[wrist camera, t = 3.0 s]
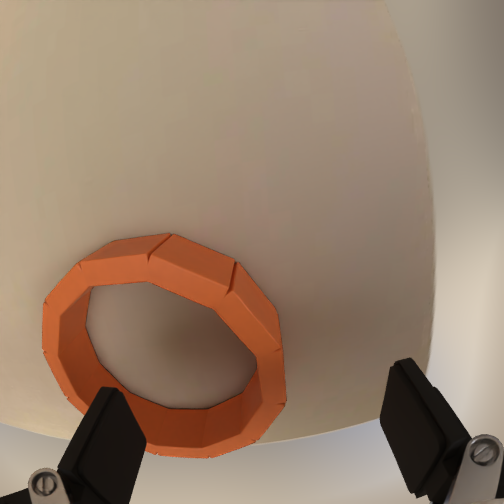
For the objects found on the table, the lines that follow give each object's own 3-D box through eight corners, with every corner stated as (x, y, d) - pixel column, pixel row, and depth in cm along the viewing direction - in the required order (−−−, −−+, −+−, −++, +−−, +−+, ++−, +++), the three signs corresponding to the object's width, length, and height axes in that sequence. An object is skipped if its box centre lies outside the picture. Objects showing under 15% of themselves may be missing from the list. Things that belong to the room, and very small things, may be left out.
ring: (268, 221, 12) (272, 238, 9) (286, 415, 15) (290, 455, 12) (48, 250, 13) (12, 270, 10) (112, 414, 16) (96, 446, 13)
